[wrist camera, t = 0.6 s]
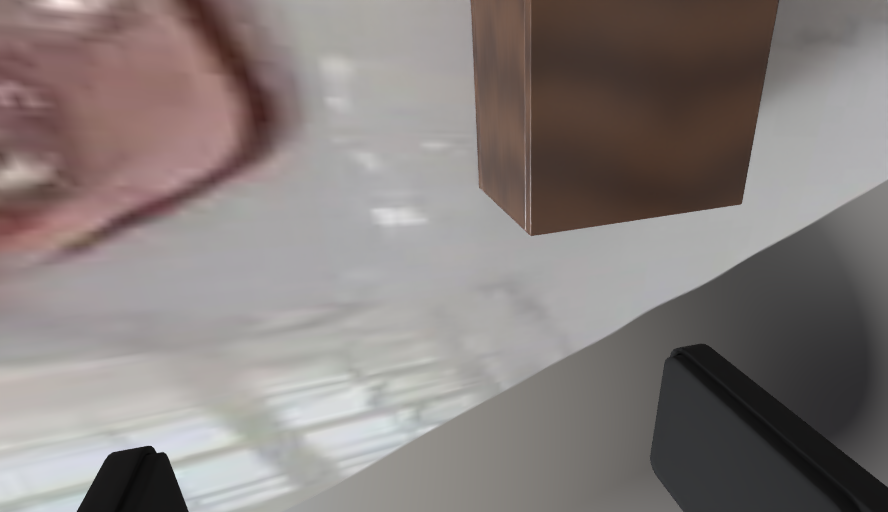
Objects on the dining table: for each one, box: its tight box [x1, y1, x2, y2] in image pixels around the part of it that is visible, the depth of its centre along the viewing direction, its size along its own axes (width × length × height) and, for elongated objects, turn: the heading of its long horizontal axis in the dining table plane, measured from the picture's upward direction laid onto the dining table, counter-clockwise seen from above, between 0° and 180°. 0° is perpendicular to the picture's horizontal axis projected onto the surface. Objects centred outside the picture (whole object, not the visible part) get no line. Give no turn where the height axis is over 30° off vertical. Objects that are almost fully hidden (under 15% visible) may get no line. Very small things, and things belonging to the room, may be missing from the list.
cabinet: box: [471, 0, 779, 236], centre depth 30 cm, size 17×14×11 cm
